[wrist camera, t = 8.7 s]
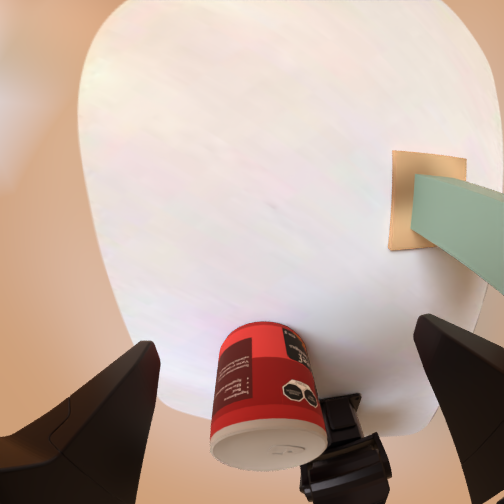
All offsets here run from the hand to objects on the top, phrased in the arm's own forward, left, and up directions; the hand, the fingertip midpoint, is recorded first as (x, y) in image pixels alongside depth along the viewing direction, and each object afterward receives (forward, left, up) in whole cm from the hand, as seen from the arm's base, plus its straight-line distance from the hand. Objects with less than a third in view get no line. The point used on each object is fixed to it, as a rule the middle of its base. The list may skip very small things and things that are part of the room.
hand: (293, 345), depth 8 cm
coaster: (+1, -14, -13) cm, 19 cm away
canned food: (-12, +1, -13) cm, 18 cm away
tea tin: (+1, -14, -12) cm, 19 cm away
